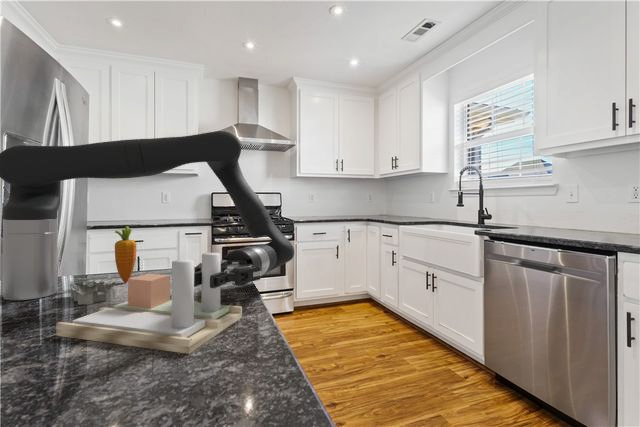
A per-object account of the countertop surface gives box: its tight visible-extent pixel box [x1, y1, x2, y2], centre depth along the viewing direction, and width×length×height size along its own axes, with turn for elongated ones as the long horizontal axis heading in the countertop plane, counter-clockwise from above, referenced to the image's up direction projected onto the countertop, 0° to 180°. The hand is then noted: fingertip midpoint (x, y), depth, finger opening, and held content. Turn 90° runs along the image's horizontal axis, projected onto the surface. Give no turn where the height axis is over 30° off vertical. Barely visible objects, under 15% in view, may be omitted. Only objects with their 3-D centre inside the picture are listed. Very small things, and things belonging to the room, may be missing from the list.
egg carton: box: [69, 279, 117, 306], centre depth 73 cm, size 11×8×4 cm
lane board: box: [56, 301, 243, 355], centre depth 57 cm, size 24×16×2 cm, turn 76°
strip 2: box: [113, 252, 229, 319], centre depth 61 cm, size 20×6×11 cm, turn 76°
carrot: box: [114, 225, 137, 284], centre depth 87 cm, size 5×5×15 cm
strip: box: [72, 259, 205, 337], centre depth 53 cm, size 20×6×11 cm, turn 76°
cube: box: [127, 273, 171, 308], centre depth 62 cm, size 5×5×5 cm
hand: (202, 281), depth 56 cm, fingers closed on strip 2, 3 cm apart
